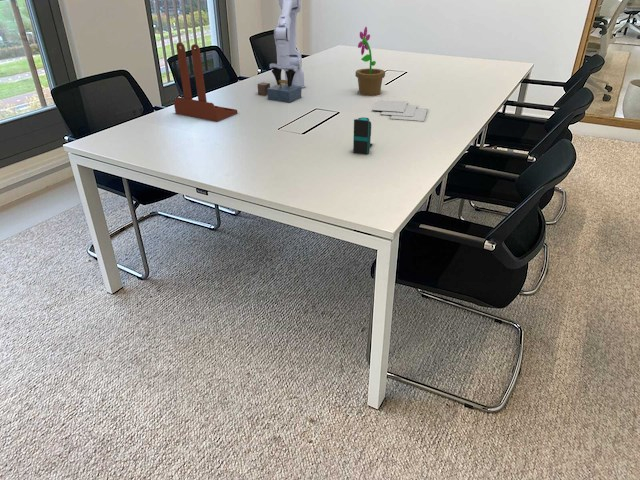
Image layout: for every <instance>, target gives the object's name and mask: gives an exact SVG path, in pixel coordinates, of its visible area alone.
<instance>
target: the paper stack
mask: <svg viewBox="0 0 640 480" xmlns="http://www.w3.org/2000/svg"><path fill="white" fill-rule="evenodd" d="M408 103H409V101H406V100H390V99H377V100H376V102H375V104H374V105H373V107H372V109H371V111H381V113H380V115H383V116H390V118H389V119H390V120H391V119H392V120H403V121H419V122H425V119H426V115H427V112H428V108H427V109H426V108H417V107H418V105H417V104H415V105H414V104H408Z"/></svg>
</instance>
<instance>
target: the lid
mask: <svg viewBox="0 0 640 480" xmlns="http://www.w3.org/2000/svg"><path fill="white" fill-rule="evenodd" d="M300 88H301V89H303V88H302V86H295V85H292V86H290V87H288V80H285V79H281V80H280V79H279V85H277V84H276V85H273V86H270V88H267V90H273V91H279V92H286V93H290V92H292V91H295V90H297V89H300Z"/></svg>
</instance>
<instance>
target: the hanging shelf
mask: <svg viewBox="0 0 640 480" xmlns="http://www.w3.org/2000/svg"><path fill="white" fill-rule="evenodd" d="M185 47H186V46H185V45H184V44H183V42H177V43H176V45H175V48H176V53H177V60H178V67H179V73H180V81H181V86H182V93H183V97H180V96H176V97H175V100H174V101H173V107H174V112H175V114H176V115H181V116H186V117H192V118H196V119H202V120H207V121H211V122H217V123H218V122H221V121H223V120H226V119H227V118H230V117H232V116H234V115H237V114H238V109H235V108H229V107H224V106H220V105H219V106H218V105H215V104H214V103H213V102H209V101H208V100H207V94H206V93H207V92H206V86H205V78H204V70H203V63H202V56H201V48H200V46H199V45H198V44H196V43H194V44H191V46H190V51H191V58H192V65H193V70H194V71H193V72H194V81H195V87H196V93H197V99H193V93H192V88H191V87H192V86H191V79H190V72H189V65H188V59H187V53H186V48H185Z"/></svg>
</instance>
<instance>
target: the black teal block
mask: <svg viewBox="0 0 640 480" xmlns="http://www.w3.org/2000/svg"><path fill="white" fill-rule="evenodd" d="M371 136H372V122H371V121H370V118H369V117H363V116H362V117H358V118H354V119H353V142H352V153H354V154H360V155H369V153H370V150H371V147H372V146H373V143H371Z"/></svg>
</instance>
